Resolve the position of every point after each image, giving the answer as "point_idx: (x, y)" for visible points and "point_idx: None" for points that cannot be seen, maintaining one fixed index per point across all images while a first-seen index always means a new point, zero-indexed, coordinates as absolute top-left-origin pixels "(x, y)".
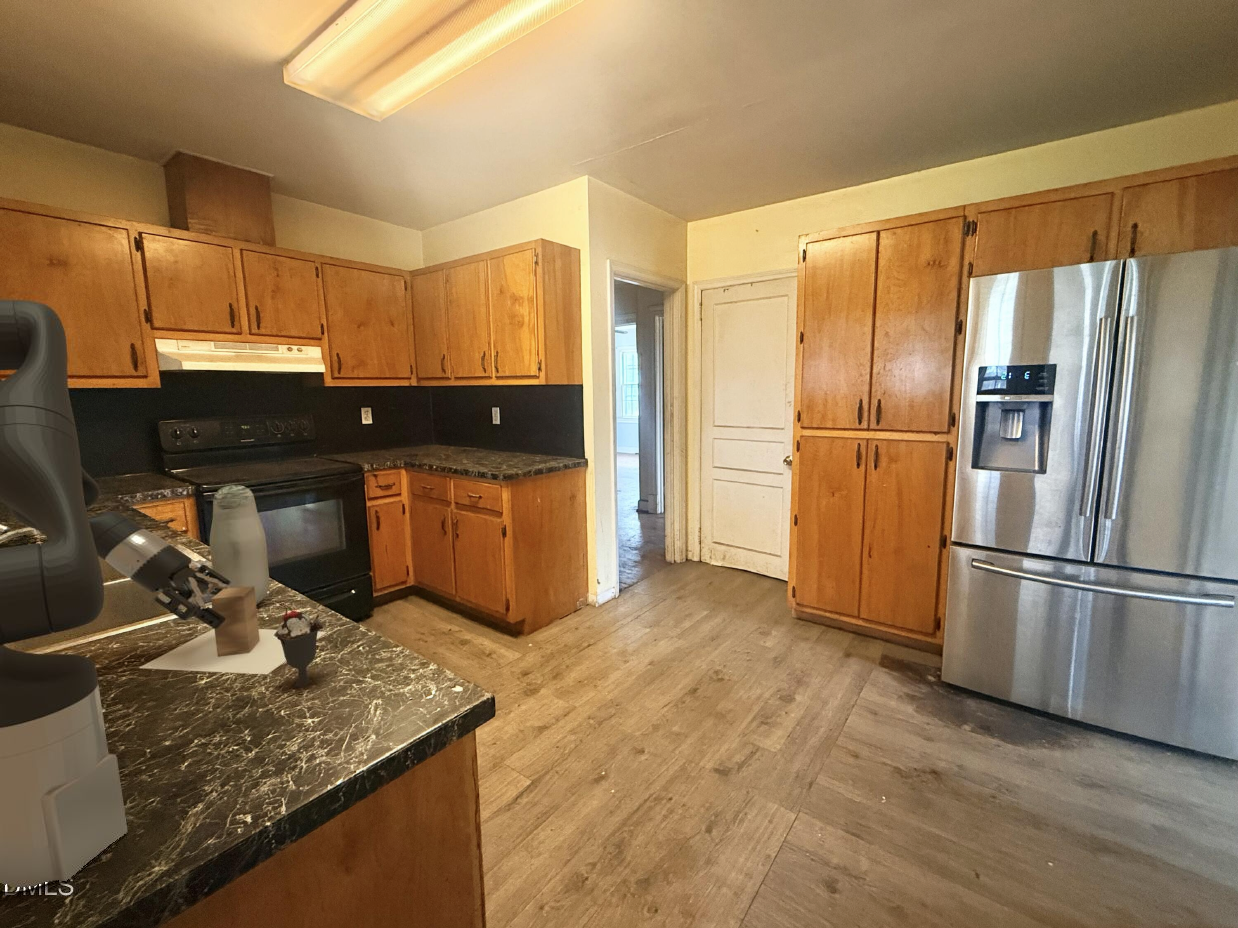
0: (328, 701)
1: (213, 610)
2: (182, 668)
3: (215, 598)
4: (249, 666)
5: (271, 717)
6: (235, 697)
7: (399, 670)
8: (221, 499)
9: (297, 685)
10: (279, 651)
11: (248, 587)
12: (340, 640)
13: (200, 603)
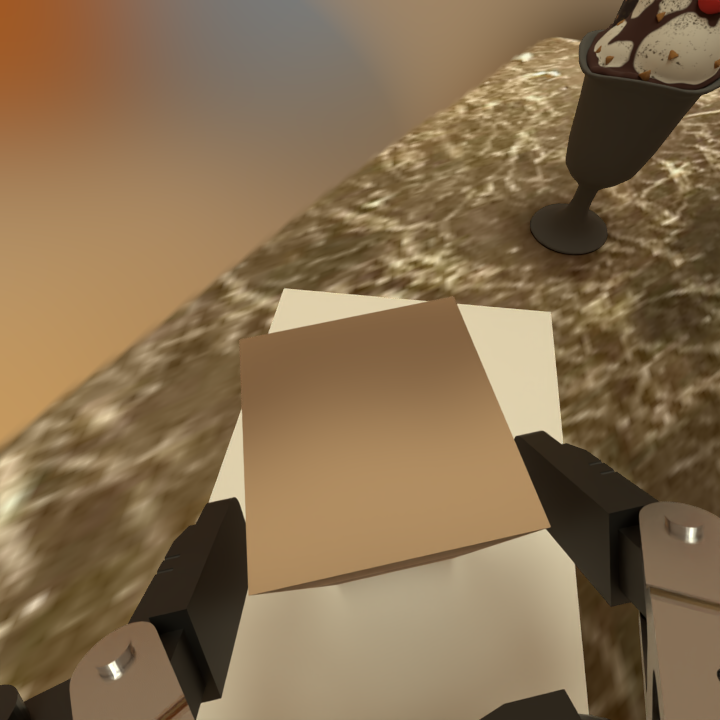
0: None
1: (573, 479)
2: (570, 661)
3: (532, 485)
4: (514, 385)
5: (695, 229)
6: (653, 343)
7: (475, 122)
8: None
9: (589, 222)
10: None
11: (265, 363)
12: (325, 256)
13: (703, 545)
